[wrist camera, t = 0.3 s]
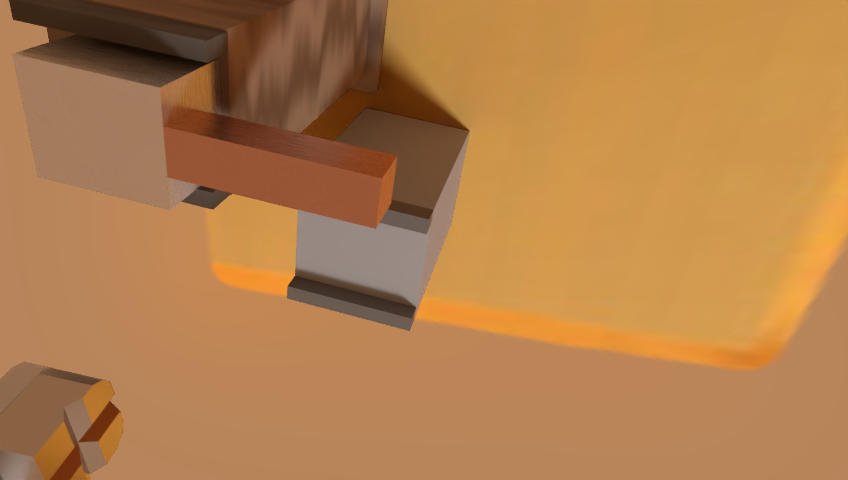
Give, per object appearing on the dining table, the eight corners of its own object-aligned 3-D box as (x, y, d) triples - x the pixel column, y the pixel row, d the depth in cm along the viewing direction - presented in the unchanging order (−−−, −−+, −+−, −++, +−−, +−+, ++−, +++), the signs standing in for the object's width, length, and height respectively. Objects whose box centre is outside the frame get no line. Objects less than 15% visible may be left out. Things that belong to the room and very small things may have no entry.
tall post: (256, -79, 52) (-19, -44, 28) (394, -53, 50) (226, 8, 27) (256, 62, 58) (32, 188, 34) (378, 89, 57) (231, 239, 33)
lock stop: (89, 30, 31) (12, 53, 27) (415, 102, 29) (386, 139, 25) (105, 140, 34) (38, 176, 30) (399, 211, 32) (371, 261, 28)
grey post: (365, 107, 58) (291, 185, 43) (469, 131, 57) (429, 219, 42) (356, 200, 63) (287, 298, 48) (451, 223, 62) (409, 330, 47)
